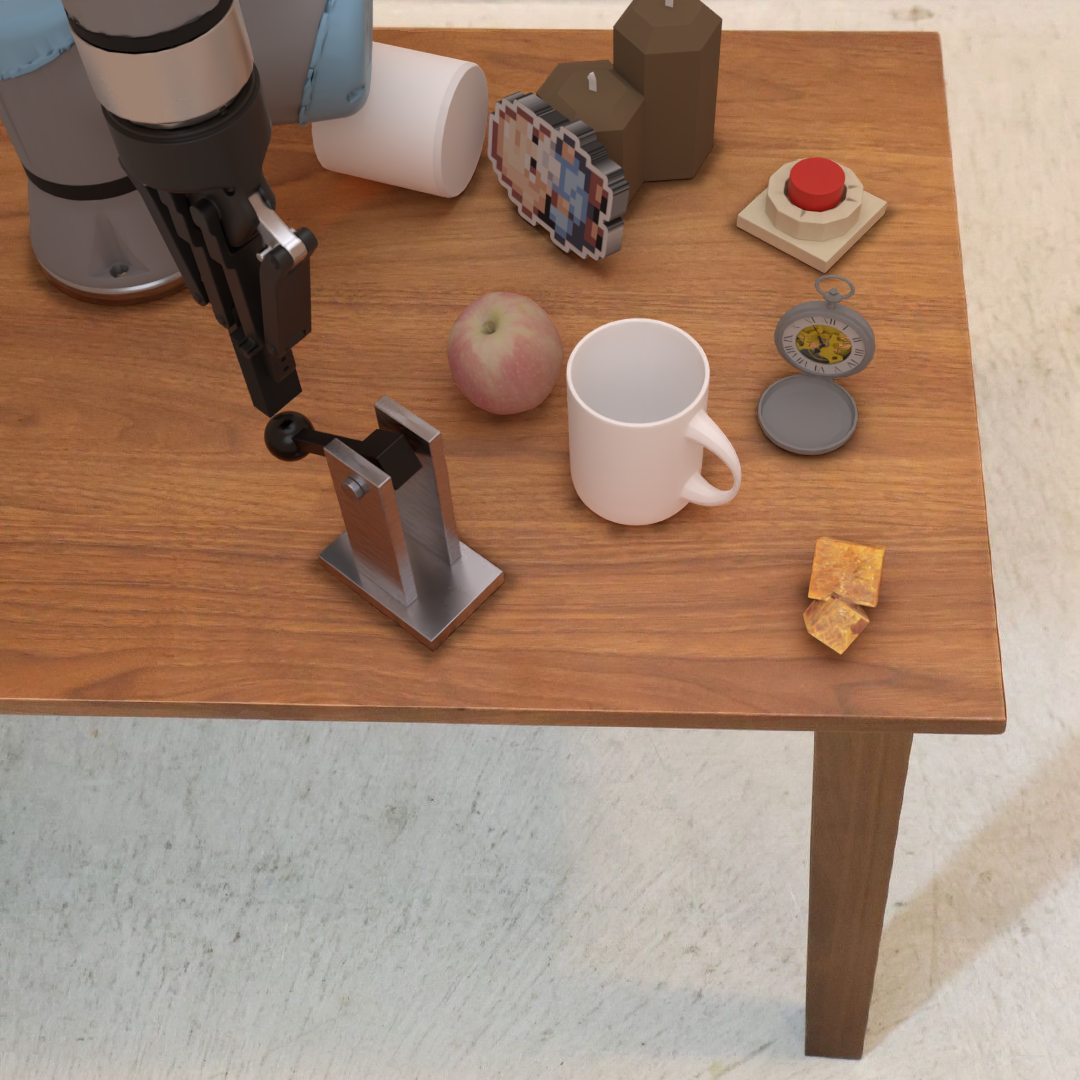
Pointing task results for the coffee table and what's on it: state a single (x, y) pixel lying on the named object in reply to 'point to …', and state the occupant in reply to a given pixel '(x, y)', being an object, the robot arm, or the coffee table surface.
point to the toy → (558, 175)
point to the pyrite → (842, 589)
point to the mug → (642, 423)
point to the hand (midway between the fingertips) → (278, 398)
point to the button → (816, 184)
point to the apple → (505, 353)
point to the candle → (648, 90)
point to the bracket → (405, 535)
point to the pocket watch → (816, 374)
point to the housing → (811, 220)
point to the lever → (385, 449)
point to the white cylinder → (411, 124)
